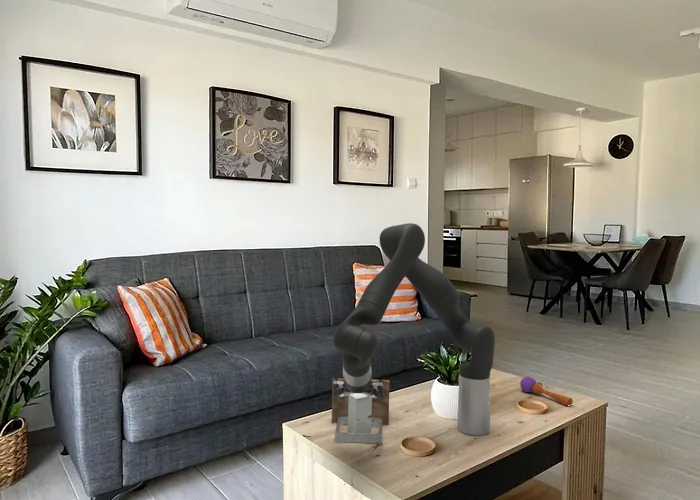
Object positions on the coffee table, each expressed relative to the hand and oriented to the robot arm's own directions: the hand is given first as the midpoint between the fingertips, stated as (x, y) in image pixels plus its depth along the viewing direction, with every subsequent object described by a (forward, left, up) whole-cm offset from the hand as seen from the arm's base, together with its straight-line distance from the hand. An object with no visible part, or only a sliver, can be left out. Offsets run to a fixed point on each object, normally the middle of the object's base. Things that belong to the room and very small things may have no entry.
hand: (358, 399), depth 145 cm
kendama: (-67, -42, -13) cm, 80 cm away
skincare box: (0, -6, -13) cm, 14 cm away
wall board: (0, -15, -13) cm, 19 cm away
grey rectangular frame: (0, -6, -13) cm, 14 cm away
